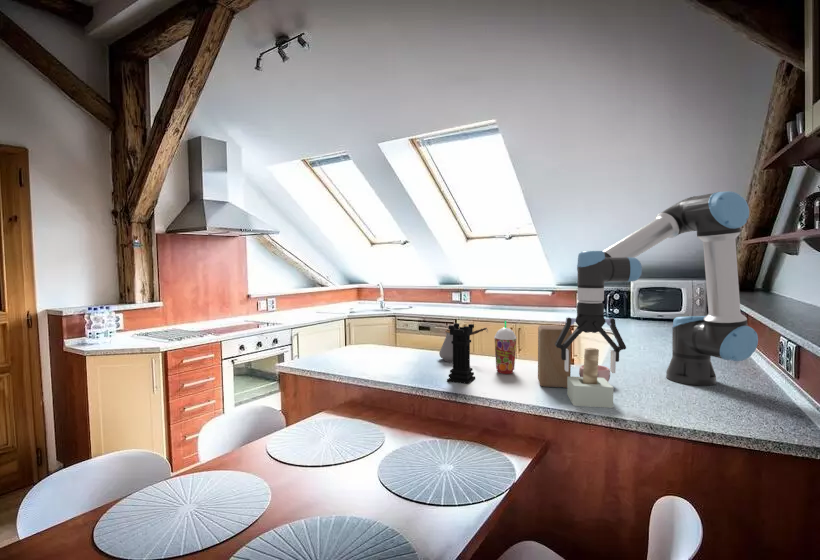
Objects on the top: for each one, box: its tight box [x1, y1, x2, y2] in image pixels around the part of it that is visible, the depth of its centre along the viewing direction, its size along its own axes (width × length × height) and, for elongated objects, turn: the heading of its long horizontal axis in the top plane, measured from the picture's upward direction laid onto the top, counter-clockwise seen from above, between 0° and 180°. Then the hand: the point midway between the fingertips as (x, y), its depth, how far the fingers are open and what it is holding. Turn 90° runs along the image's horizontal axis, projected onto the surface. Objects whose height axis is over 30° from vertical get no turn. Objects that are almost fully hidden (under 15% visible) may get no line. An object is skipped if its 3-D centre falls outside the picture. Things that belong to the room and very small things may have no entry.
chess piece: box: [446, 322, 476, 385], centre depth 161 cm, size 8×8×20 cm
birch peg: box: [583, 347, 600, 384], centre depth 137 cm, size 4×4×15 cm
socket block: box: [566, 375, 614, 409], centre depth 137 cm, size 11×11×6 cm
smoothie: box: [494, 320, 517, 375], centre depth 172 cm, size 8×8×20 cm
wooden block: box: [537, 324, 572, 389], centre depth 156 cm, size 10×10×20 cm
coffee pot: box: [439, 327, 489, 363], centre depth 192 cm, size 21×12×15 cm, turn 66°
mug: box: [578, 364, 611, 382], centre depth 157 cm, size 12×10×6 cm
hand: (589, 371), depth 137 cm, fingers open, 13 cm apart
